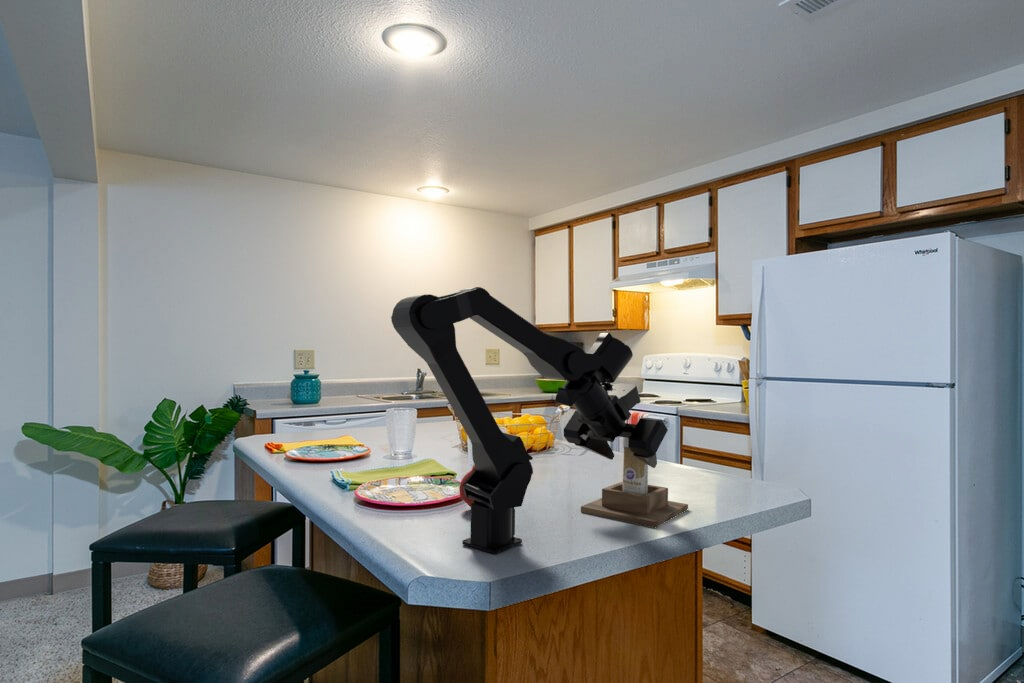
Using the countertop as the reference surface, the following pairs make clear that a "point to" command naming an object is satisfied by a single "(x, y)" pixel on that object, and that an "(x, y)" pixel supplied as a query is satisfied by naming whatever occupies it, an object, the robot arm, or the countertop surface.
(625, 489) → the sprinkles bottle
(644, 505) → the walnut collar holder
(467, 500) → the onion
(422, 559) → the countertop surface
